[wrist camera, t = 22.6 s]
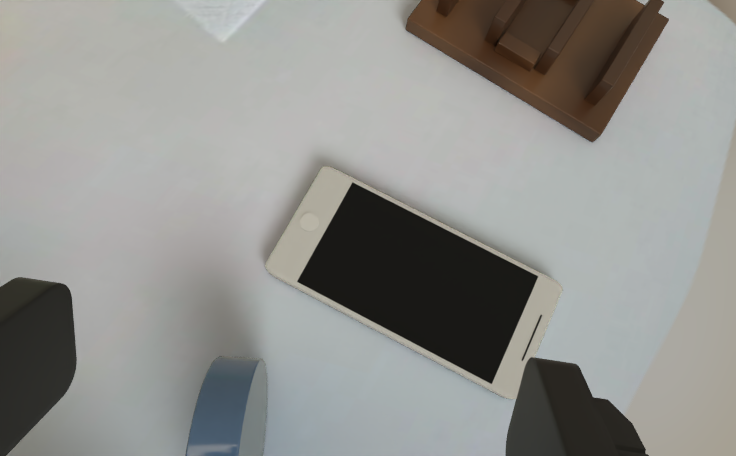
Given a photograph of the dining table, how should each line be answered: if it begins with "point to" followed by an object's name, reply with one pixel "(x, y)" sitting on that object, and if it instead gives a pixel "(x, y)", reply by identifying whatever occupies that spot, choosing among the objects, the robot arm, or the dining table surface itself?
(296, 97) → the dining table surface
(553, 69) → the rack
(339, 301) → the smartphone
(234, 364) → the disc
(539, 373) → the robot arm
